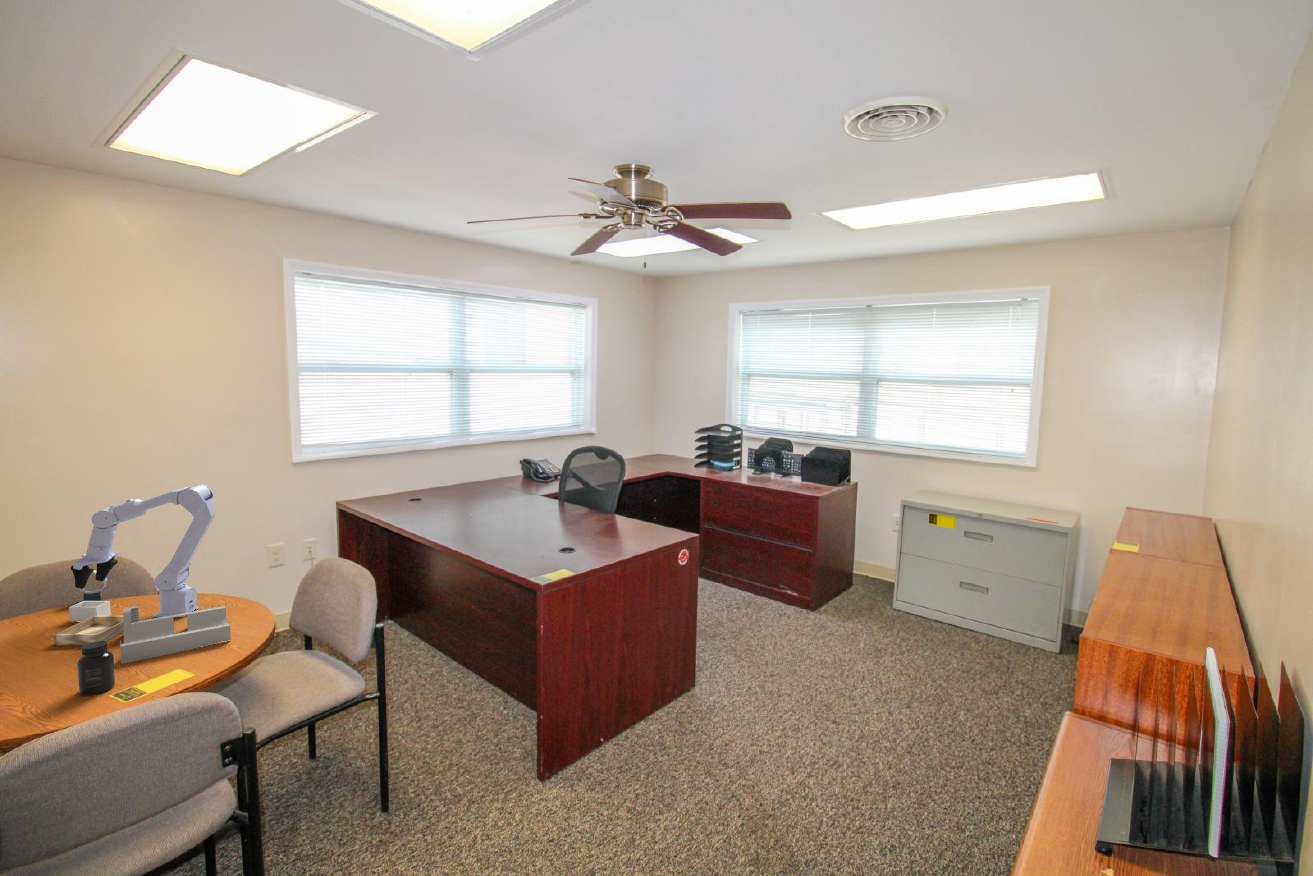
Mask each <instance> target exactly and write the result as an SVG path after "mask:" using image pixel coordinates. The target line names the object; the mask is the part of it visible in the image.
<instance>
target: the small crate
mask: <svg viewBox="0 0 1313 876" xmlns="http://www.w3.org/2000/svg"><path fill="white" fill-rule="evenodd" d="M68 611H69V612H68V613H69V614H68V615H69V622H70V621H84V620H86V619H88V618H90V617H92V616H110V615H111V616H112V613H111V601H110V600H101V601H84V600H82V601H80V602H78V603H76V604H73V605H71V606H69V607H68Z"/></svg>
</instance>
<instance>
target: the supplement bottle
mask: <svg viewBox="0 0 1313 876" xmlns="http://www.w3.org/2000/svg"><path fill="white" fill-rule="evenodd" d="M81 655H82V656H81V657H79V658H78V660H77V662H76V665H77V679H78V680H77V681H78V691H79V694H80V695H83V696H93V695H100V694H103V693H105V692H107V691H109V690H112V688H113V687H114V686H115V684H116V672H115V656H114V653H113V652H112V651H110V650H109V646H108V641H97V642H92V643H88V644H86V645H82V646H81Z"/></svg>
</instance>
